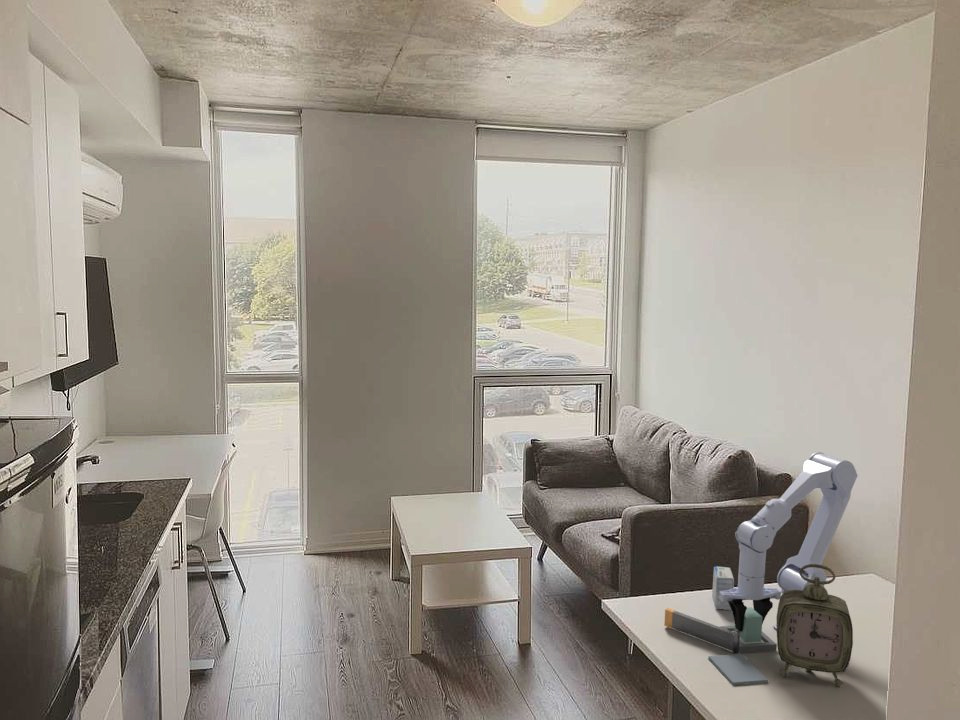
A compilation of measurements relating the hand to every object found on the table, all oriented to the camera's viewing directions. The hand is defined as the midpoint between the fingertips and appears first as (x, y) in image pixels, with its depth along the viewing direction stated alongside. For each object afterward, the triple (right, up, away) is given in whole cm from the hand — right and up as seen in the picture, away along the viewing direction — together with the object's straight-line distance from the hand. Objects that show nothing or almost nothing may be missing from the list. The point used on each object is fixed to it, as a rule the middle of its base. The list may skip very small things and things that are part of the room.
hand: (747, 628), depth 177 cm
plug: (0, -3, 0) cm, 3 cm away
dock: (0, -3, 0) cm, 3 cm away
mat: (-7, -4, -13) cm, 15 cm away
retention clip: (-11, -2, 0) cm, 11 cm away
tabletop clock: (+8, -5, -14) cm, 17 cm away
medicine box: (+1, -1, +21) cm, 21 cm away
